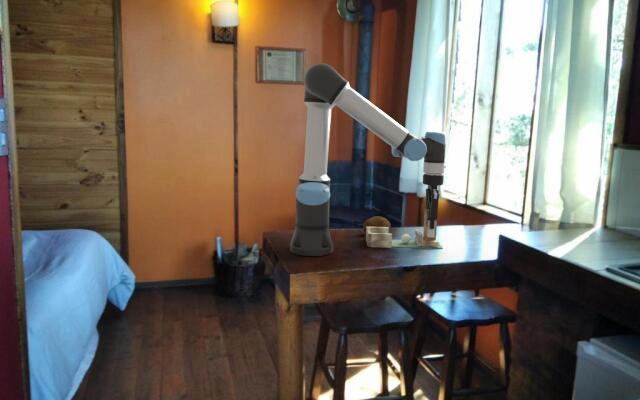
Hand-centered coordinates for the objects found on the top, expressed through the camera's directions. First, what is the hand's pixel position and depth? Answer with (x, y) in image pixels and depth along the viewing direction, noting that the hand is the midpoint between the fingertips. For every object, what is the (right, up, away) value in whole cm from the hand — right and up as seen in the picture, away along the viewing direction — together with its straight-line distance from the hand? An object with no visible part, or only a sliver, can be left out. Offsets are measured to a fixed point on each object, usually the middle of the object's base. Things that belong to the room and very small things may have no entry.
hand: (429, 235), depth 194 cm
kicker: (-1, -4, +1) cm, 4 cm away
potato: (-18, -1, +15) cm, 24 cm away
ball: (-9, -1, 0) cm, 9 cm away
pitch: (-9, -3, +1) cm, 10 cm away
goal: (-19, -3, +1) cm, 19 cm away
